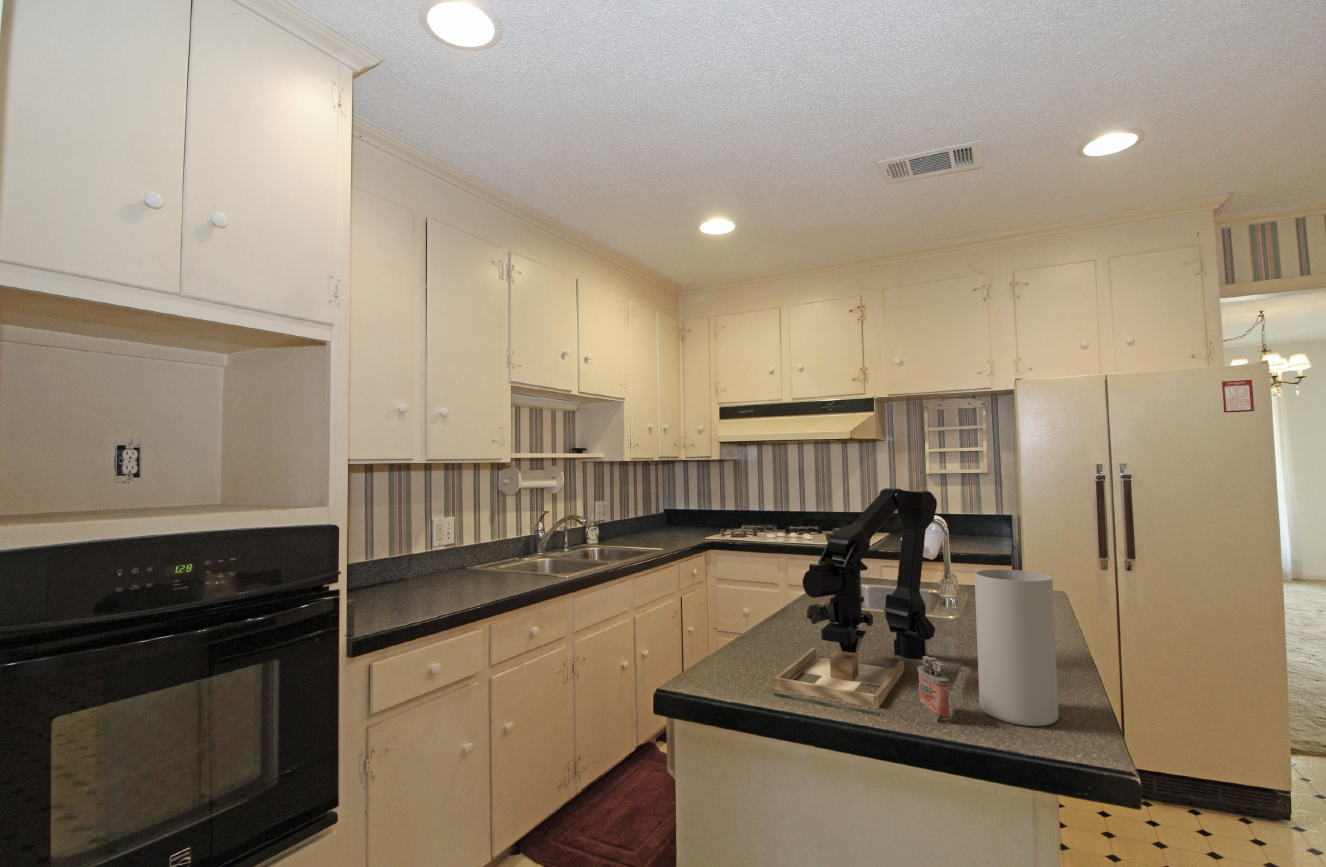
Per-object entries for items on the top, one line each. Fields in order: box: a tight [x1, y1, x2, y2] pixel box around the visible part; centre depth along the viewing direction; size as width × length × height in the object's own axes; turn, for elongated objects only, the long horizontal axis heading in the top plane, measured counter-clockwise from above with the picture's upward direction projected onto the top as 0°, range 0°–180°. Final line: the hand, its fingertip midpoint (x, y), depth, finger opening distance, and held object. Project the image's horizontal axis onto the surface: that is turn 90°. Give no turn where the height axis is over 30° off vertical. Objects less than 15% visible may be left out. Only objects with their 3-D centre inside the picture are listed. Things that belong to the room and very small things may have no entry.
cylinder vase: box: [974, 568, 1060, 727], centre depth 114 cm, size 12×12×25 cm
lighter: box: [917, 655, 952, 725], centre depth 113 cm, size 8×3×10 cm, turn 5°
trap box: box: [773, 647, 905, 717], centre depth 128 cm, size 20×24×4 cm
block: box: [829, 649, 859, 682], centre depth 130 cm, size 4×4×4 cm
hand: (849, 665), depth 133 cm, fingers closed
